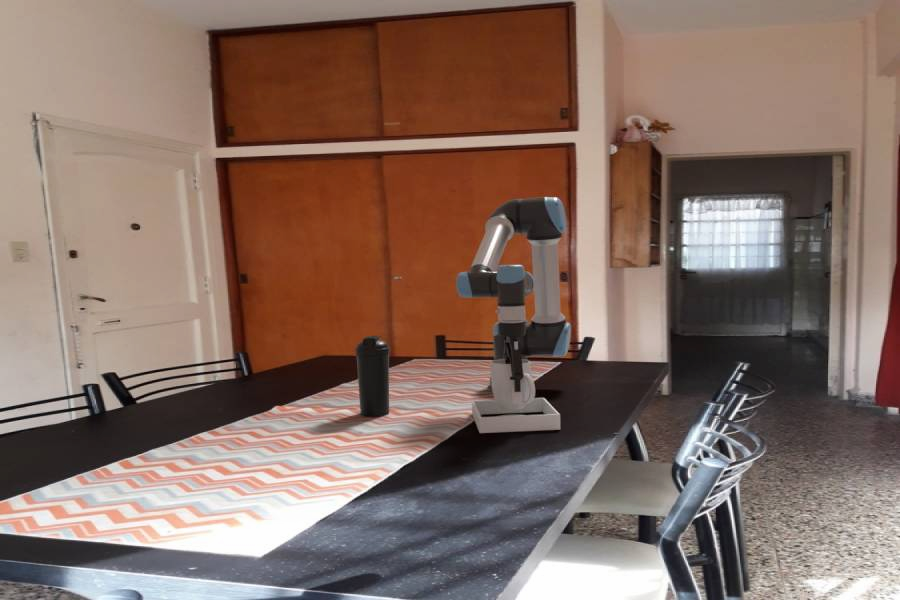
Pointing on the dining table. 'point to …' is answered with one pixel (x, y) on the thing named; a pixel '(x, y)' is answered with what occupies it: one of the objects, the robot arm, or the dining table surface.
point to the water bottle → (373, 376)
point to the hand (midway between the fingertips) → (513, 398)
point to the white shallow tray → (515, 417)
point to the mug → (510, 384)
